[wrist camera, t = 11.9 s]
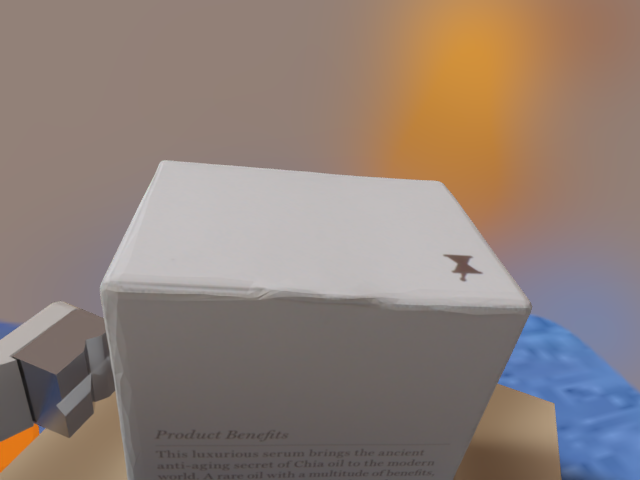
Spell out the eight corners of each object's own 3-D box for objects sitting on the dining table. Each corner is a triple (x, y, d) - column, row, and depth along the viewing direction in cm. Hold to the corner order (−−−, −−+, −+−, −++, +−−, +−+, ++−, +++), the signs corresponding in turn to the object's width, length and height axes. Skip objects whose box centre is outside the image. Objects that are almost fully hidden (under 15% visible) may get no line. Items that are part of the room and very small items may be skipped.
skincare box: (353, 495, 17) (451, 177, 10) (378, 650, 13) (552, 310, 7) (170, 498, 16) (155, 150, 9) (142, 667, 12) (89, 288, 6)
